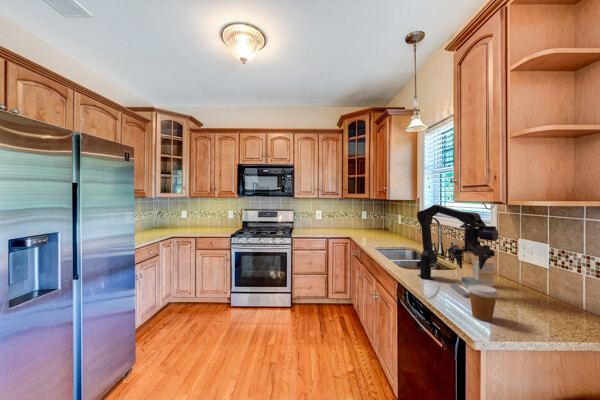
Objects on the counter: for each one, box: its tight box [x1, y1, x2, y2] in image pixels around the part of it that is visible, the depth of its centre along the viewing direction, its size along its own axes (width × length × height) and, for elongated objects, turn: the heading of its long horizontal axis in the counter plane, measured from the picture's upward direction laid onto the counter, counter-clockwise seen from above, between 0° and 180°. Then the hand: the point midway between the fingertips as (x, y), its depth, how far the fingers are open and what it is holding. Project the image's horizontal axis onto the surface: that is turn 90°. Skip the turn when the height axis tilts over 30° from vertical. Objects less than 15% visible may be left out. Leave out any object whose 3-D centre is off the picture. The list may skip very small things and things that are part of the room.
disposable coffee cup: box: [468, 284, 499, 322], centre depth 95 cm, size 10×10×12 cm
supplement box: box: [472, 260, 495, 288], centre depth 129 cm, size 8×5×13 cm, turn 84°
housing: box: [461, 276, 481, 291], centre depth 120 cm, size 5×7×5 cm
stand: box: [450, 283, 470, 298], centre depth 120 cm, size 13×13×2 cm
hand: (470, 268), depth 120 cm, fingers open, 9 cm apart
